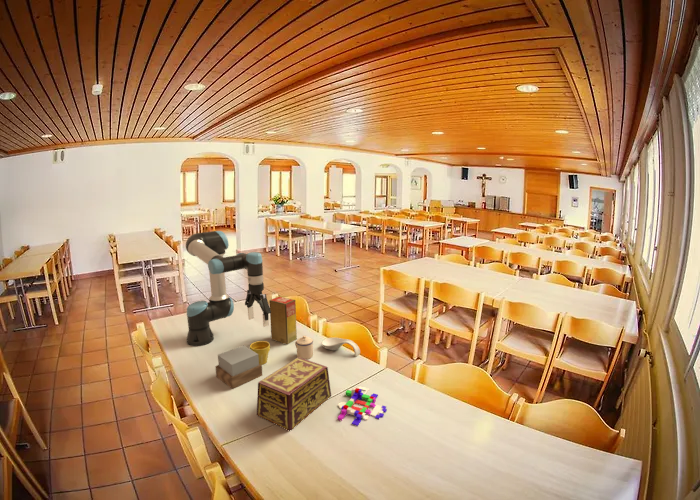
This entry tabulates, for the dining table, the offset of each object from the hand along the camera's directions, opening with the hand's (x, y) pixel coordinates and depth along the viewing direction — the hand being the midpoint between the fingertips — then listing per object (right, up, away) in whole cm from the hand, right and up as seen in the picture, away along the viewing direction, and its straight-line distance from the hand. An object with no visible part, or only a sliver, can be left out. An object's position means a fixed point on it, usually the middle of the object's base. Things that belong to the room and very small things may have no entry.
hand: (258, 322), depth 192 cm
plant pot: (0, -22, +5) cm, 23 cm away
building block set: (+53, -30, -33) cm, 69 cm away
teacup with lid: (+22, -20, +11) cm, 32 cm away
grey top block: (-7, -19, -10) cm, 23 cm away
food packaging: (+8, -17, +31) cm, 36 cm away
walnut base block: (-7, -25, -9) cm, 28 cm away
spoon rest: (+42, -19, +17) cm, 50 cm away
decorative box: (+24, -30, -32) cm, 50 cm away
